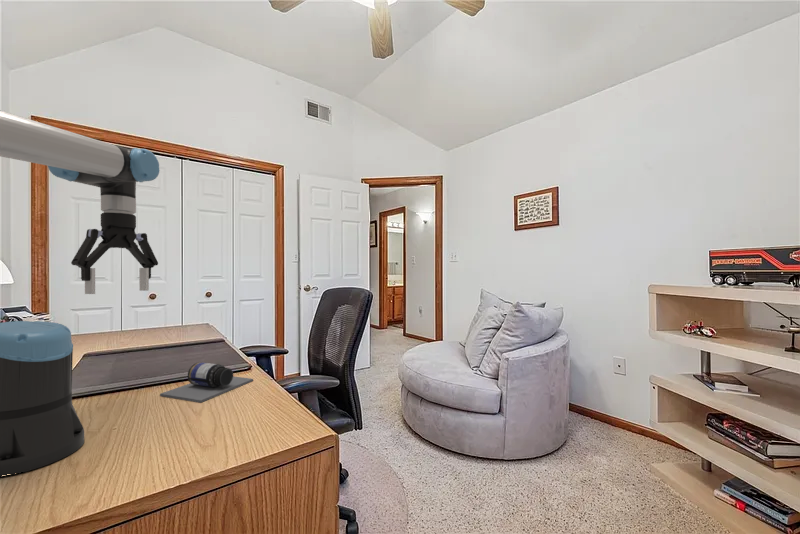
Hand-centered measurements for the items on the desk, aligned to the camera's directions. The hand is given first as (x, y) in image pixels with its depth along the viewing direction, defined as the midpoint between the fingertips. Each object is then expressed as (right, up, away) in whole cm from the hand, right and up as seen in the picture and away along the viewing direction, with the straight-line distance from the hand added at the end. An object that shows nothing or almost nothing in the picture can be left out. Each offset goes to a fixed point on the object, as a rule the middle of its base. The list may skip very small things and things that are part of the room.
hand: (118, 292), depth 97 cm
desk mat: (+23, -27, +2) cm, 35 cm away
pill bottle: (+18, -23, +4) cm, 30 cm away
